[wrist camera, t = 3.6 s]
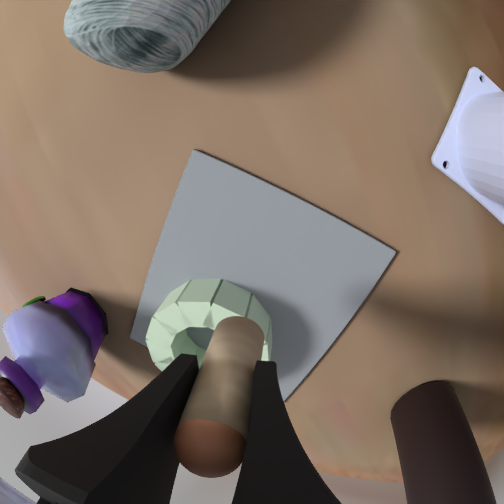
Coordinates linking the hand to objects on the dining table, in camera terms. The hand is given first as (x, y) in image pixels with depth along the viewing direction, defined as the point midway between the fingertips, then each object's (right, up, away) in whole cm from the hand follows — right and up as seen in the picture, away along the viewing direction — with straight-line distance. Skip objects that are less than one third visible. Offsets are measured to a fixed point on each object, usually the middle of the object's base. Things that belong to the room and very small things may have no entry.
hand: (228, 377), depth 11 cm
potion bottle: (-14, -1, +13) cm, 19 cm away
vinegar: (+17, -10, +13) cm, 24 cm away
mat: (0, +1, +10) cm, 10 cm away
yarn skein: (-3, +21, +3) cm, 22 cm away
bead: (-2, -1, +11) cm, 11 cm away
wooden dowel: (0, +1, +2) cm, 2 cm away
